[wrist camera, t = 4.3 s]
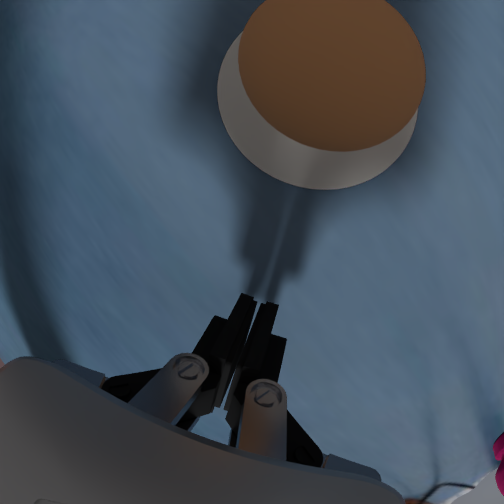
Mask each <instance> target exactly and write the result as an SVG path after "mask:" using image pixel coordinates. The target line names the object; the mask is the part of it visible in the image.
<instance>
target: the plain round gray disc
mask: <svg viewBox="0 0 504 504" xmlns="http://www.w3.org/2000/svg"><path fill="white" fill-rule="evenodd" d="M242 33H243V31H242V32H241V33H240V34H239V36H238V37H237V38H236V39H235V40H234V42H233V43H232V45H231V46H230V48H229V49H228V51H227V53H226V55H225V57H224V60H223V62H222V65H221V68H220V72H219V77H218V84H217V98H218V105H219V111H220V114H221V118H222V121H223V123H224V126H225V128H226V130H227V132H228V134H229V136H230V137H231V139H232V141H233V142H234V144H235V145H236V146H237V148H238V149H239V150H240V151H241V153H242V154H243V155H244V156H245V157H246V158H247V159H248V160H249V161H250V162H251V163H253V164H254V165H255V166H257V167H258V168H259V169H260V170H262V171H264V172H265V173H267V174H269V175H270V176H272V177H274V178H276V179H278V180H280V181H283V182H285V183H288V184H291V185H294V186H298V187H303V188H308V189H318V190H331V189H341V188H347V187H351V186H354V185H358V184H361V183H364V182H366V181H368V180H370V179H372V178H374V177H376V176H377V175H379V174H380V173H382V172H383V171H385V170H386V169H387V168H388V167H389V166H391V165H392V164H393V163H394V162H395V161H396V160H397V158H398V157H399V156H400V155H401V154H402V152H403V151H404V149H405V148H406V146H407V144H408V143H409V141H410V138H411V136H412V134H413V131H414V128H415V124H416V120H417V113H418V108H417V110H416V112H415V114H414V116H413V117H412V118H411V120H410V121H409V122H408V124H407V125H406V126H405V127H404V128H403V129H402V130H401V131H400V132H398V133H397V134H396V135H394V136H393V137H391V138H390V139H388V140H386V141H384V142H382V143H381V144H378V145H375V146H373V147H370V148H366V149H362V150H357V151H347V152H338V151H327V150H320V149H316V148H313V147H309V146H306V145H303V144H301V143H298V142H296V141H294V140H292V139H290V138H288V137H287V136H285V135H284V134H282V133H281V132H279V131H277V130H276V129H275V128H274V127H273V126H271V125H270V124H269V123H268V122H267V121H266V120H265V119H264V118H263V117H262V116H261V115H260V114H259V112H258V111H257V110H256V108H255V107H254V106H253V104H252V103H251V101H250V99H249V97H248V96H247V94H246V91H245V89H244V86H243V84H242V80H241V76H240V72H239V64H238V50H239V44H240V39H241V36H242Z"/></svg>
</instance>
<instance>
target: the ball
mask: <svg viewBox="0 0 504 504" xmlns="http://www.w3.org/2000/svg"><path fill="white" fill-rule="evenodd" d="M238 64H239V72H240V76H241V80H242V84H243V86H244V89H245V91H246V94H247V96H248V97H249V99H250V101H251V103H252V104H253V106H254V107H255V108H256V110H257V111H258V112H259V114H260V115H261V116H262V117H263V118H264V119H265V120H266V121H267V122H268V123H269V124H270V125H271V126H273V127H274V128H275V129H276V130H277V131H279V132H281V133H282V134H284V135H285V136H287V137H288V138H290V139H292V140H294V141H296V142H298V143H301V144H303V145H306V146H309V147H313V148H316V149H320V150H327V151H338V152H347V151H357V150H362V149H366V148H370V147H373V146H375V145H378V144H381V143H382V142H384V141H386V140H388V139H390V138H391V137H393V136H394V135H396V134H397V133H398V132H400V131H401V130H402V129H403V128H404V127H405V126H406V125H407V124H408V122H409V121H410V120H411V118H412V117H413V116H414V114H415V112H416V110H417V108H418V106H419V105H420V102H421V99H422V96H423V93H424V88H425V82H426V69H425V62H424V56H423V52H422V49H421V46H420V43H419V41H418V39H417V37H416V35H415V33H414V32H413V30H412V28H411V27H410V25H409V24H408V23H407V21H406V20H405V19H404V18H403V16H402V15H401V14H400V13H399V12H398V11H397V10H396V9H395V8H393V7H392V6H391V5H390V4H389V3H387V2H386V1H385V0H266V1H264V2H263V3H262V4H261V5H260V6H259V7H258V8H257V9H256V10H255V12H254V13H253V14H252V15H251V17H250V19H249V20H248V22H247V24H246V26H245V28H244V30H243V33H242V36H241V39H240V44H239V50H238Z"/></svg>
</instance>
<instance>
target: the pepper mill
mask: <svg viewBox="0 0 504 504" xmlns="http://www.w3.org/2000/svg"><path fill="white" fill-rule="evenodd" d="M493 450H494V454H495V458H496V460H501V463H500V465H499V467H498V470H497V472H496V476H495V478H496V482H497V486H498V488H499V490H500V492H501V493H502V494H503V496H504V433H503V434H502V435H501V436H500V437H499V438H498V439H497V440H496V442H495V443H494V445H493Z"/></svg>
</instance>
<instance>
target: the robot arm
mask: <svg viewBox="0 0 504 504" xmlns="http://www.w3.org/2000/svg"><path fill="white" fill-rule="evenodd" d="M253 298H254V297H252V296H249V295H246V294H243V293H241V295H240V297H239V299H238V301H237V303H236V305H235V306H234V308H233V310H232V312H231V314H230V316H229V318H228V320H227V319H224V318H221V317H219V316H216V315H215V316H214V317H213V319H212V320H211V322H210V324H209V325H208V327H207V329H206V330H205V332H204V334H203V335H202V337H201V339H200V340H199V342H198V344H197V345H196V347H195V349H194V350H193V352H192V354H191V353H181V354H178V355H175V356H174V357H173V358H171V359H170V360H169V362H168V363H167V364H166V365H165V366H164V367H163V368H161V369H155V370H150V371H144V372H138V373H132V374H126V375H119V376H114V377H111V378H108V377H105V374H103V373H100V372H97V371H94V370H91V369H88V368H86V367H83V366H80V365H77V364H75V363H72V362H69V361H67V360H63V359H58V360H54V361H52V362H50V361H47V360H44V359H40V358H36V357H28V356H24V357H19V358H16V359H14V360H12V361H10V362H8V363H7V364H5V365H4V366H3V367H1V368H0V504H405V501H404V499H403V497H402V495H401V494H400V493H399V492H398V491H397V490H395V489H394V488H392V487H391V486H389V485H387V484H385V483H383V482H381V476H380V474H379V473H378V472H377V471H376V470H375V469H373V468H371V467H368V466H364V465H361V464H358V463H355V462H352V461H349V460H346V459H344V458H341V457H338V456H335V455H333V454H329V455H326V454H323V453H322V452H321V450H320V448H319V447H318V446H317V445H316V444H315V443H314V441H313V440H312V439H311V438H310V437H309V436H308V434H307V433H306V432H305V431H304V430H303V428H302V427H301V426H300V425H299V424H298V422H297V421H296V420H295V419H294V418H293V416H292V415H291V414H290V413H289V411H288V410H287V396H286V392H285V390H284V389H283V388H282V387H281V386H280V385H279V384H278V383H277V382H278V378H279V373H280V369H281V364H282V360H283V355H284V351H285V346H286V341H287V339H286V338H283V337H280V336H276V335H273V334H271V331H272V328H273V324H274V321H275V317H276V314H277V310H278V306H279V305H278V304H274V303H271V302H268V301H267V302H266V304H263V303H261V304H260V307H259V310H258V312H257V315H256V317H255V320H254V323H253V325H252V328H251V330H250V333H249V335H248V332H249V329H250V325H251V322H252V319H253V315H254V312H255V308H256V305H257V301H254V300H253ZM247 335H248V338H247ZM246 339H247V341H246ZM245 342H246V343H245ZM244 345H245V346H244ZM236 366H237V367H236ZM235 369H236V370H235ZM234 371H235V373H234ZM233 374H234V377H233V380H232V383H231V386H230V390H229V393H228V396H227V400H226V403H225V406H224V410H227V411H228V413H227V416H226V418H225V419H226V421H227V422H228V424H229V425H230V427H231V431H230V436H229V442H228V445H225V444H222V443H219V442H216V441H213V440H210V439H207V438H205V437H202V436H199V435H197V434H194V433H191V430H192V429H193V427H194V426H195V425H196V423H197V422H198V421H199V418H200V416H203V415H206V414H209V413H210V412H211V413H212V412H213V409H214V407H218V408H220V406H221V403H222V401H223V398H224V396H225V394H226V391H227V389H228V386H229V384H230V381H231V379H232V376H233Z"/></svg>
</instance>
